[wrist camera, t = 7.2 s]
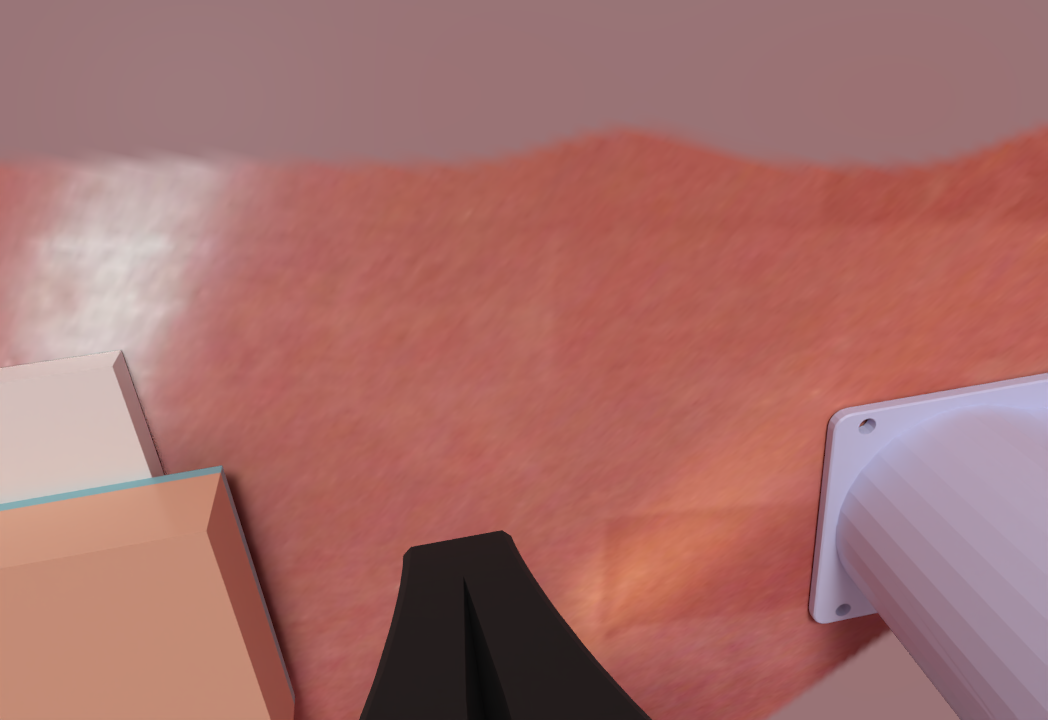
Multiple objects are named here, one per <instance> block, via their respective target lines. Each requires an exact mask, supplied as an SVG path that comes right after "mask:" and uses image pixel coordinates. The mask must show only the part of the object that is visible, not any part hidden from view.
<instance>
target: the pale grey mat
mask: <svg viewBox="0 0 1048 720" xmlns="http://www.w3.org/2000/svg"><path fill="white" fill-rule="evenodd" d="M159 476H165V475H164V472H163V470H162V467H161V464H160V461H159V458H158V455H157V452H156V449H155V447H154V444H153V441H152V438H151V435H150V432H149V429H148V426H147V423H146V421H145V418H144V415H143V412H142V409H141V406H140V403H139V400H138V397H137V395H136V392H135V389H134V386H133V383H132V380H131V377H130V374H129V372H128V369H127V366H126V363H125V360H124V357H123V354H122V351H121V350H120V351H113V352H106V353H99V354H93V355H86V356H79V357H72V358H66V359H59V360H52V361H45V362H39V363H32V364H25V365H18V366H12V367H5V368H0V504H4V503H9V502H15V501H21V500H27V499H32V498H38V497H44V496H50V495H55V494H61V493H67V492H73V491H78V490H84V489H90V488H96V487H101V486H107V485H113V484H119V483H124V482H130V481H136V480H142V479H147V478H153V477H159Z"/></svg>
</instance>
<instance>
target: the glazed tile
mask: <svg viewBox="0 0 1048 720" xmlns="http://www.w3.org/2000/svg"><path fill="white" fill-rule="evenodd" d="M294 706H295V694H294V691H293V688H292V685H291V682H290V678H289V675H288V672H287V669H286V666H285V663H284V659H283V656H282V653H281V650H280V647H279V644H278V640H277V637H276V634H275V631H274V628H273V625H272V621H271V618H270V615H269V612H268V609H267V606H266V602H265V599H264V596H263V593H262V590H261V587H260V583H259V580H258V577H257V574H256V571H255V568H254V564H253V561H252V558H251V555H250V552H249V548H248V545H247V542H246V539H245V536H244V533H243V529H242V526H241V523H240V520H239V517H238V514H237V510H236V507H235V504H234V501H233V498H232V495H231V491H230V488H229V485H228V482H227V479H226V476H225V472H224V469H223V466H216V467H210V468H205V469H199V470H193V471H188V472H182V473H176V474H170V475H165V476H159V477H153V478H147V479H142V480H136V481H130V482H124V483H119V484H113V485H107V486H101V487H96V488H90V489H84V490H78V491H73V492H67V493H61V494H55V495H50V496H44V497H38V498H32V499H27V500H21V501H15V502H9V503H4V504H0V720H294Z"/></svg>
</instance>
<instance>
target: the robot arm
mask: <svg viewBox="0 0 1048 720" xmlns="http://www.w3.org/2000/svg"><path fill="white" fill-rule="evenodd" d="M866 419H868V420H867V422H866V423H865V424H864V425H863V426H861V427H859V426H860V424H861V423H862V422H863V421H864V420H866ZM809 612H810V614H811V615H812V617H813V618H814V620H815V621H816V622H818V623H831V622H836V621H840V620H845V619H850V618H855V617H860V616H864V615H869V614H874V613H878V614H879V615H880V616H881V618H882V619H883V620H884V621H885V623H886V624H887V625H888V627H889V628H890V629H891V630H892V632H893V633H894V634H895V636H896V637H897V638H898V639H899V641H900V642H901V643H902V644H903V646H904V647H905V649H906V650H907V651H908V652H909V654H910V655H911V656H912V657H913V659H914V660H915V661H916V663H917V664H918V665H919V666H920V668H921V669H922V670H923V672H924V673H925V674H926V675H927V677H928V678H929V679H930V681H931V682H932V683H933V685H934V686H935V687H936V689H937V690H938V691H939V692H940V693H941V695H942V696H943V697H944V699H945V700H946V701H947V703H948V704H949V705H950V707H951V708H952V709H953V710H954V712H955V713H956V714H957V716H958V717H959V718H960V719H961V720H1048V373H1044V374H1039V375H1033V376H1027V377H1021V378H1016V379H1010V380H1004V381H999V382H993V383H987V384H981V385H976V386H970V387H964V388H958V389H953V390H947V391H941V392H935V393H930V394H924V395H918V396H913V397H907V398H901V399H895V400H890V401H884V402H878V403H872V404H867V405H861V406H855V407H850V408H845V409H842V410H840V411H838V412H837V413H835V414H834V415H833V417H832V418H831V419H830V421H829V425H828V431H827V441H826V450H825V460H824V469H823V479H822V488H821V498H820V507H819V517H818V526H817V536H816V545H815V554H814V564H813V573H812V583H811V592H810V602H809ZM359 720H652V719H651V718H650V717H649V716H648V715H647V714H646V713H645V712H644V711H643V710H642V709H641V708H640V707H639V706H638V705H637V704H636V703H635V702H634V701H633V700H632V699H631V698H630V697H629V695H628V694H627V693H626V692H625V691H624V690H623V689H622V688H621V687H620V686H619V685H618V684H617V682H616V681H615V680H614V679H613V678H612V677H611V676H610V675H609V673H608V672H607V671H606V670H605V669H604V668H603V667H602V666H601V665H600V663H599V662H598V661H597V660H596V659H595V657H594V656H593V655H592V654H591V653H590V652H589V650H588V649H587V648H586V647H585V646H584V644H583V643H582V642H581V641H580V639H579V638H578V637H577V635H576V634H575V633H574V632H573V630H572V629H571V628H570V627H569V625H568V624H567V623H566V621H565V620H564V619H563V618H562V616H561V615H560V614H559V613H558V611H557V610H556V608H555V607H554V606H553V604H552V603H551V602H550V600H549V599H548V597H547V596H546V594H545V593H544V592H543V590H542V589H541V587H540V586H539V584H538V583H537V581H536V580H535V578H534V577H533V575H532V574H531V572H530V570H529V569H528V567H527V566H526V564H525V562H524V560H523V559H522V557H521V555H520V553H519V551H518V550H517V548H516V546H515V544H514V542H513V539H512V537H511V536H510V535H509V534H507V533H506V532H504V531H502V530H501V531H496V532H490V533H485V534H480V535H474V536H469V537H463V538H458V539H452V540H447V541H441V542H436V543H431V544H425V545H420V546H414V547H411V548H410V549H409V550H408V551H407V552H406V553H405V554H404V556H403V569H402V576H401V583H400V588H399V593H398V598H397V602H396V607H395V611H394V615H393V619H392V623H391V627H390V630H389V633H388V637H387V640H386V643H385V647H384V650H383V653H382V656H381V660H380V663H379V666H378V669H377V673H376V676H375V679H374V682H373V684H372V687H371V690H370V693H369V695H368V698H367V700H366V703H365V706H364V708H363V711H362V714H361V716H360V719H359Z"/></svg>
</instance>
